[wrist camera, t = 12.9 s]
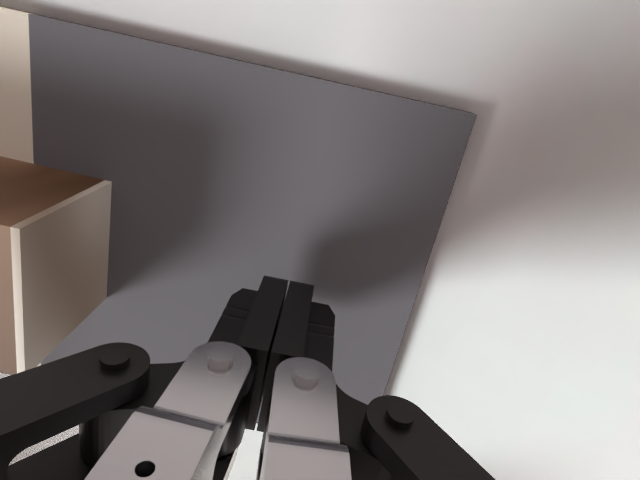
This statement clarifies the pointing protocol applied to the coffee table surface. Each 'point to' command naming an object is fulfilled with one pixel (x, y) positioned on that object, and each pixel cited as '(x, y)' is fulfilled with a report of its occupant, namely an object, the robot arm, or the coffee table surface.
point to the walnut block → (48, 258)
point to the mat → (233, 186)
